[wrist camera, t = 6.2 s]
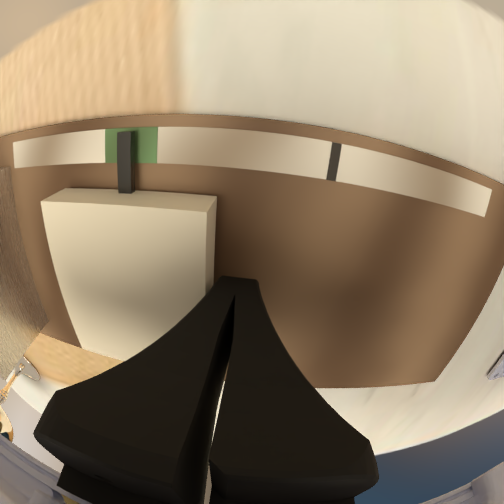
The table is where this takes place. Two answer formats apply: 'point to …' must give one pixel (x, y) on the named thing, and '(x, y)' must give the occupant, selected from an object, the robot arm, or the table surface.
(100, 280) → the carriage
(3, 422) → the wineglass
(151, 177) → the gauge base
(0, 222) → the gray stone tile
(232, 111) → the table surface
